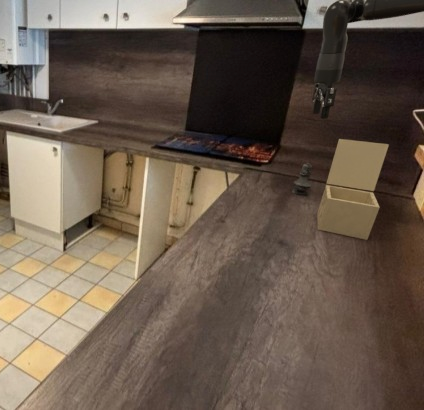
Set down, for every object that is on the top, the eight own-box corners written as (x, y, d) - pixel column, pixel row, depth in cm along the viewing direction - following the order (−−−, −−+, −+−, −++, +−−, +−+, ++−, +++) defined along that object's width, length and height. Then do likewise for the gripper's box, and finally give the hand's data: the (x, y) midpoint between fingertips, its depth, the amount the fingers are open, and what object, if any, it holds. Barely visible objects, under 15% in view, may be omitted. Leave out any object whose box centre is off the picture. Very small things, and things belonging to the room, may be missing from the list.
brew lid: (389, 144, 101) (385, 144, 105) (339, 138, 106) (337, 138, 110) (373, 191, 104) (371, 189, 108) (326, 183, 110) (325, 181, 113)
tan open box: (367, 240, 99) (379, 207, 95) (317, 229, 104) (327, 198, 100) (362, 222, 109) (373, 192, 105) (317, 213, 114) (326, 184, 110)
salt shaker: (292, 194, 130) (300, 162, 125) (289, 188, 135) (298, 158, 130) (310, 196, 128) (320, 164, 123) (307, 191, 133) (316, 160, 128)
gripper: (350, 68, 113) (339, 120, 120) (334, 65, 126) (324, 111, 133) (323, 70, 115) (313, 120, 122) (310, 66, 128) (302, 112, 135)
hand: (319, 115), depth 127 cm, fingers open, 8 cm apart
